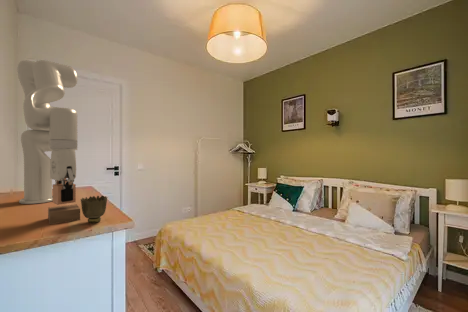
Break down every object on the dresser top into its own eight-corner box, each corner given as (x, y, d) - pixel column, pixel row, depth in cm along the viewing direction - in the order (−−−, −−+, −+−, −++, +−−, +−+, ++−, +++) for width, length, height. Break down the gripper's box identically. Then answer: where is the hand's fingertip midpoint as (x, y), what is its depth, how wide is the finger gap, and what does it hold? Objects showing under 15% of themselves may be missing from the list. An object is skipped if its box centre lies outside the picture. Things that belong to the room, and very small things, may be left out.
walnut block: (48, 219, 79) (48, 207, 79) (76, 215, 85) (76, 204, 85) (49, 225, 73) (49, 212, 73) (80, 220, 79) (80, 208, 78)
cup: (79, 221, 77) (79, 196, 77) (105, 217, 81) (105, 194, 81) (81, 227, 71) (81, 201, 71) (109, 223, 76) (109, 198, 75)
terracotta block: (52, 202, 78) (52, 184, 78) (70, 200, 82) (70, 183, 82) (57, 204, 75) (57, 186, 75) (75, 202, 79) (75, 184, 79)
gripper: (42, 145, 81) (42, 198, 81) (59, 145, 70) (59, 205, 71) (67, 145, 86) (68, 195, 87) (86, 145, 76) (86, 201, 77)
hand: (64, 199), depth 79 cm, fingers closed on terracotta block, 5 cm apart
